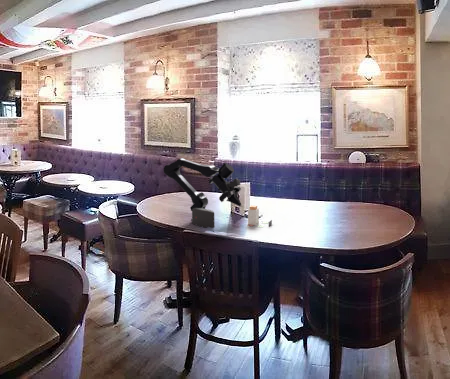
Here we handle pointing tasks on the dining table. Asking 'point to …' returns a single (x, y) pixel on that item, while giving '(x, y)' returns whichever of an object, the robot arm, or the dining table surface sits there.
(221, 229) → the dining table surface
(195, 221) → the leaning round-cornered charcoal block
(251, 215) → the white bottle
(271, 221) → the switch board
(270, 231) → the dining table surface
